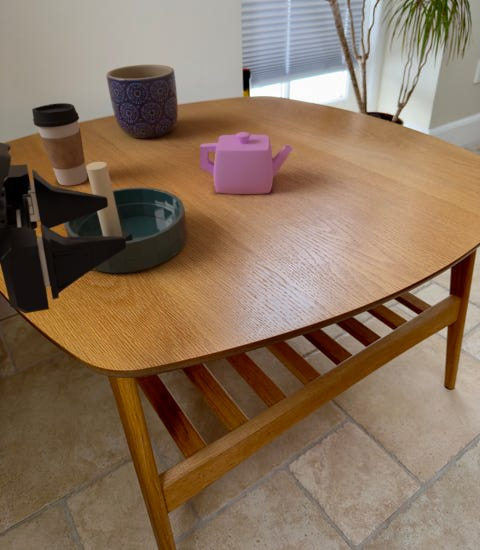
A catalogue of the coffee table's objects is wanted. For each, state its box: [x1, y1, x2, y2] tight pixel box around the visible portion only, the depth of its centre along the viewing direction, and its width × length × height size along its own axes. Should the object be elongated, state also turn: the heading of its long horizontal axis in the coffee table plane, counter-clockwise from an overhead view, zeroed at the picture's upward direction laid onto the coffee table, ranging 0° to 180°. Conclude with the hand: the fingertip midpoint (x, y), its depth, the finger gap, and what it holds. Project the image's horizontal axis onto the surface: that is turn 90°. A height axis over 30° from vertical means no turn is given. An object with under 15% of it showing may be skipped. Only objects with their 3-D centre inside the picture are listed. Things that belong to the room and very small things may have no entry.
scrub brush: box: [85, 161, 133, 241], centre depth 64 cm, size 4×4×14 cm
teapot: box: [199, 131, 294, 195], centre depth 85 cm, size 18×10×10 cm, turn 86°
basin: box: [64, 186, 188, 274], centre depth 69 cm, size 18×18×6 cm
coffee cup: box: [31, 102, 88, 187], centre depth 87 cm, size 8×8×15 cm
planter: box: [105, 64, 179, 139], centre depth 110 cm, size 17×16×15 cm
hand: (115, 220), depth 44 cm, fingers open, 9 cm apart
